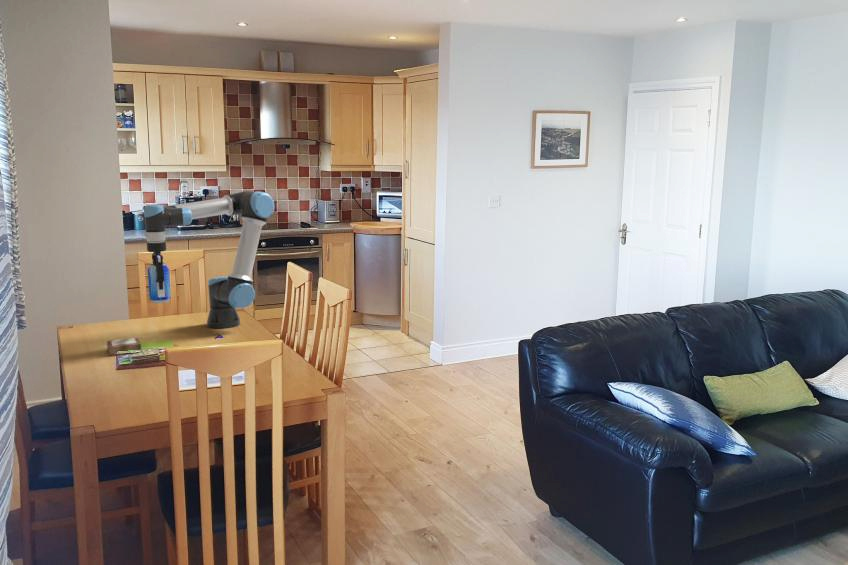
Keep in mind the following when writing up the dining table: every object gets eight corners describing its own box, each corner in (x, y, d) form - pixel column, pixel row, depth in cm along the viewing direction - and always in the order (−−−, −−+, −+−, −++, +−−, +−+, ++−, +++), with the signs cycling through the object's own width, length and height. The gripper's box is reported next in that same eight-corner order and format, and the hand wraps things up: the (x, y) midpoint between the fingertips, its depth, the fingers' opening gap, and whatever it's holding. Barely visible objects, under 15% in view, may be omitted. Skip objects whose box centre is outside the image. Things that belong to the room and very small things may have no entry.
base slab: (138, 345, 306) (137, 336, 305) (141, 352, 295) (140, 342, 295) (107, 349, 301) (106, 339, 300) (109, 356, 290) (108, 346, 289)
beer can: (164, 304, 301) (161, 266, 298) (145, 303, 302) (143, 265, 299) (174, 300, 309) (172, 263, 306) (157, 299, 310) (154, 262, 308)
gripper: (143, 239, 309) (147, 291, 313) (149, 245, 290) (153, 300, 294) (162, 238, 312) (166, 290, 316) (169, 243, 293) (173, 298, 297)
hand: (160, 295), depth 305 cm, fingers closed on beer can, 8 cm apart
